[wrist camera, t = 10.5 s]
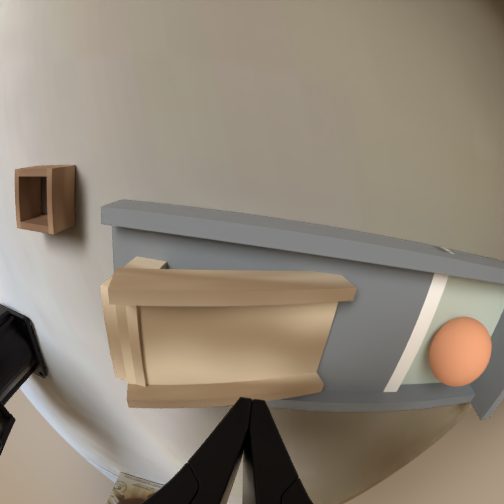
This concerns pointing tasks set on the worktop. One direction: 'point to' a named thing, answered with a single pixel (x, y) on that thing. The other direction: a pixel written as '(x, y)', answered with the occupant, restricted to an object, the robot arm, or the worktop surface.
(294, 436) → the worktop surface
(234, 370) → the ramp
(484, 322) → the lane
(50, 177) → the open wooden cube
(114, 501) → the coffee box
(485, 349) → the ball
